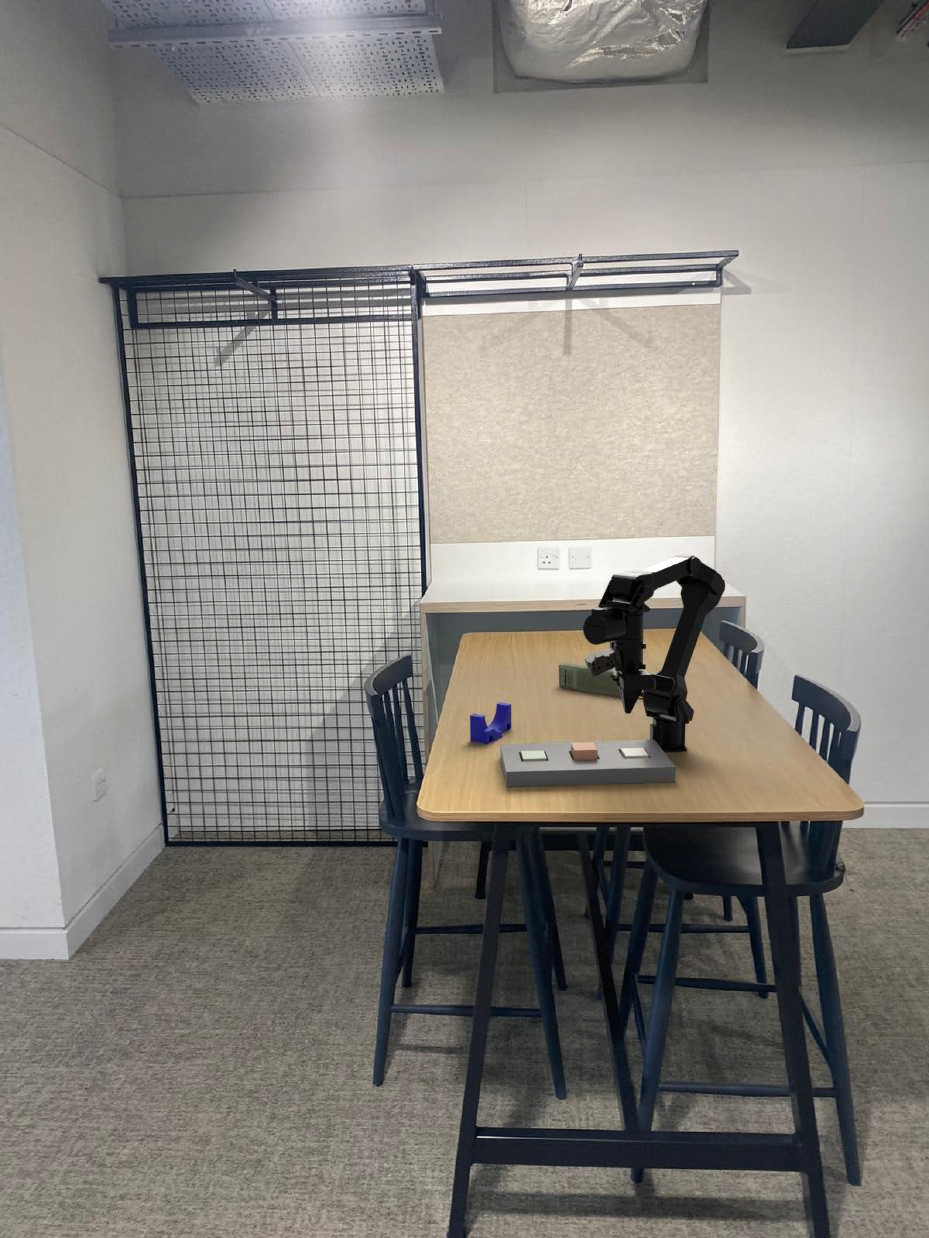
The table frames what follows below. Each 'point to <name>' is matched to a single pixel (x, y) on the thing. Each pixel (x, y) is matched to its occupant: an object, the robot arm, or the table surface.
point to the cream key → (633, 753)
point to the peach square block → (584, 751)
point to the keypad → (585, 765)
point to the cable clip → (495, 729)
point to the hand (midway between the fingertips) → (627, 713)
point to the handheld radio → (587, 680)
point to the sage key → (533, 756)
